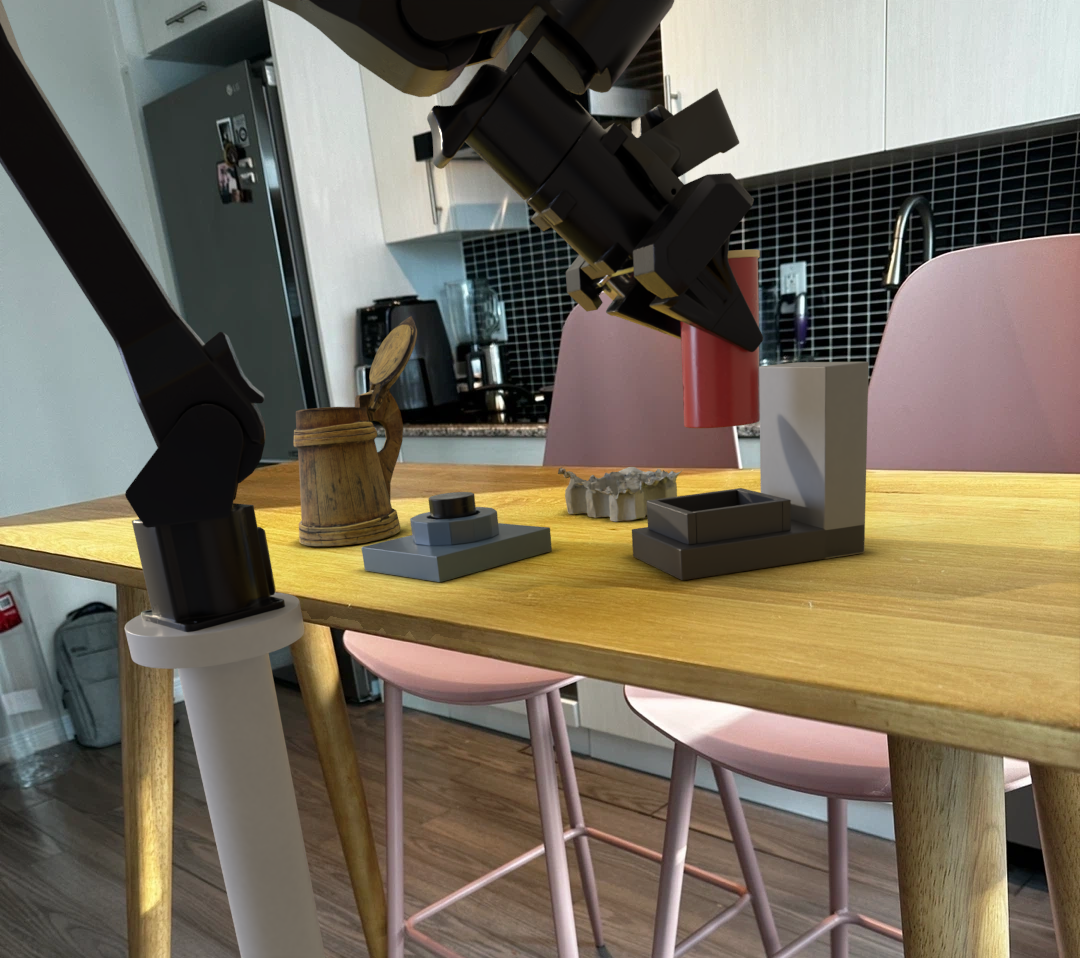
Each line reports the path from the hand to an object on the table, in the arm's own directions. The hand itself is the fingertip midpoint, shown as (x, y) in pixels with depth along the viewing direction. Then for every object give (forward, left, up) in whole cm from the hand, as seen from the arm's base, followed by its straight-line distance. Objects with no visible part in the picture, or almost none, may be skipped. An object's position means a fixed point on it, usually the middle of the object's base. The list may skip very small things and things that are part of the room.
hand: (740, 346), depth 65 cm
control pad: (-9, +20, -14) cm, 25 cm away
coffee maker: (+1, +1, -14) cm, 14 cm away
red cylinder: (-1, +1, -5) cm, 5 cm away
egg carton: (+12, +22, -14) cm, 28 cm away
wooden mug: (-4, +38, -14) cm, 40 cm away
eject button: (-9, +20, -10) cm, 24 cm away
